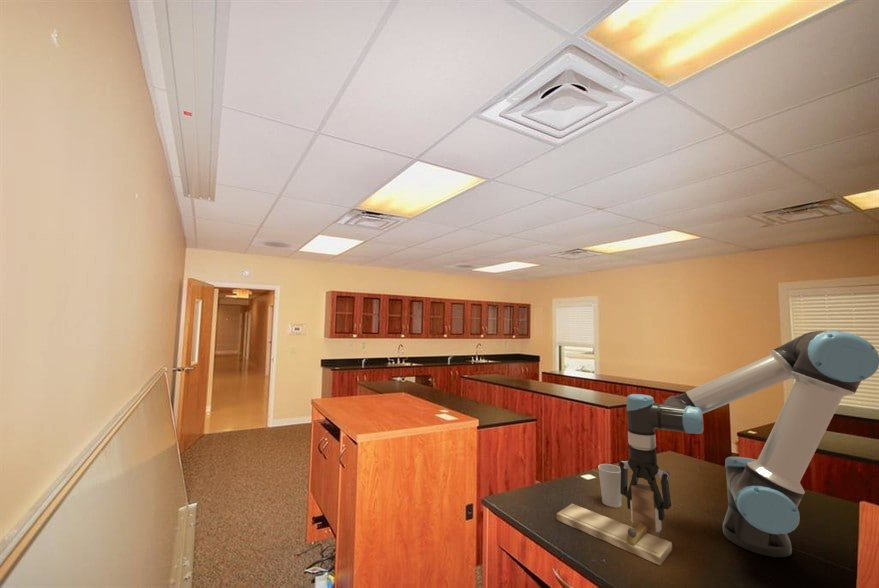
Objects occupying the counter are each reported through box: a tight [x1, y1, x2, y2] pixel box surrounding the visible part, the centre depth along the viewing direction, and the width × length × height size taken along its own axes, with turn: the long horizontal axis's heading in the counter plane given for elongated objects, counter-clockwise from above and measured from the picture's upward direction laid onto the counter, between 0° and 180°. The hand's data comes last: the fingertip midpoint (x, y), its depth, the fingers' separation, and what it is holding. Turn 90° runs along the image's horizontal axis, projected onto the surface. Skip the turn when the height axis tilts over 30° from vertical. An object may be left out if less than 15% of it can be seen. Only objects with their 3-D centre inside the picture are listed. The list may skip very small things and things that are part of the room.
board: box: [556, 503, 673, 566], centre depth 109 cm, size 30×10×2 cm, turn 41°
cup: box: [597, 463, 623, 508], centre depth 128 cm, size 8×8×12 cm
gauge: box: [627, 482, 661, 545], centre depth 105 cm, size 6×14×14 cm, turn 132°
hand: (646, 525), depth 108 cm, fingers closed on gauge, 6 cm apart
